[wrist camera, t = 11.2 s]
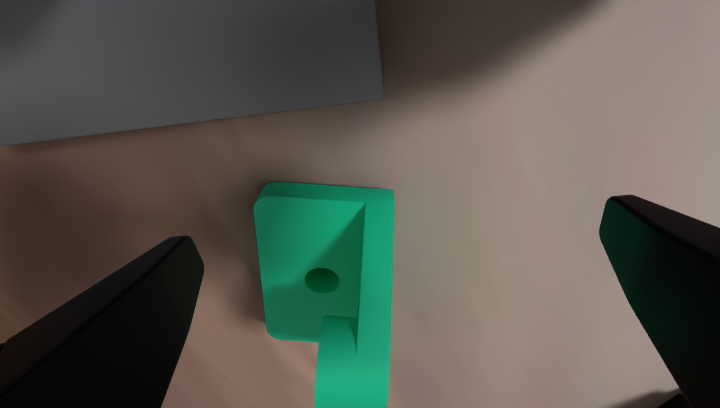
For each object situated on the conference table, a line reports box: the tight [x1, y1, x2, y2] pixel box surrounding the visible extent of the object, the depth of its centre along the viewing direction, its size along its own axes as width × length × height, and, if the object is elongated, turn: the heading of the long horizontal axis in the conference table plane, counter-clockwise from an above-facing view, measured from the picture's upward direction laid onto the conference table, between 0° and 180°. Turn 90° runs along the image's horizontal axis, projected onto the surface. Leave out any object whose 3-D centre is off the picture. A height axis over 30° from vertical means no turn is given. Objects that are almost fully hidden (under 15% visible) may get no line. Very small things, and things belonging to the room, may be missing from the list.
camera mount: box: [253, 182, 394, 408], centre depth 22 cm, size 12×8×10 cm, turn 177°
